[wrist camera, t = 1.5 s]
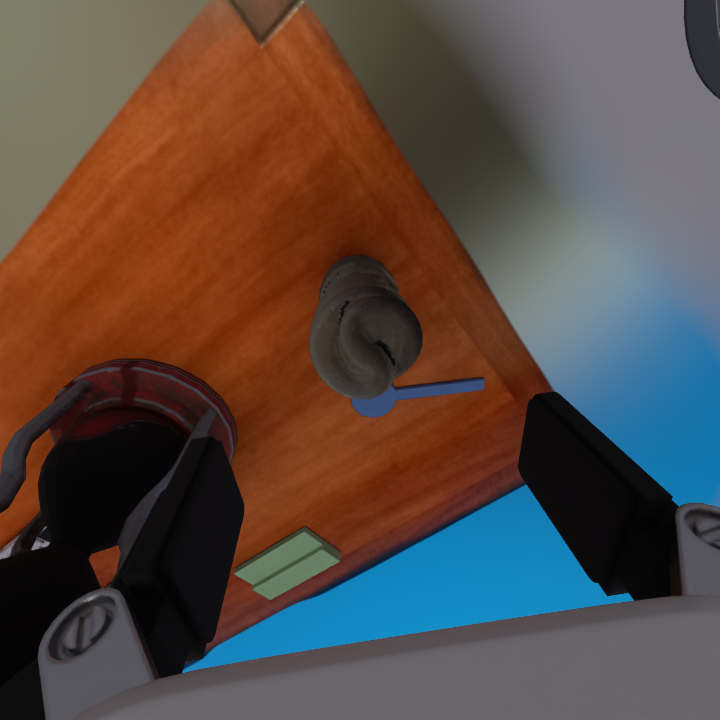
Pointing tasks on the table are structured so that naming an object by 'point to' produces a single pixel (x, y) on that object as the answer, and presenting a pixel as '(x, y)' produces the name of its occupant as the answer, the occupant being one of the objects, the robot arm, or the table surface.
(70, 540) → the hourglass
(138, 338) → the table surface
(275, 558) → the towel
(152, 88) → the table surface
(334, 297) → the grey spiral shell
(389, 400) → the spoon
